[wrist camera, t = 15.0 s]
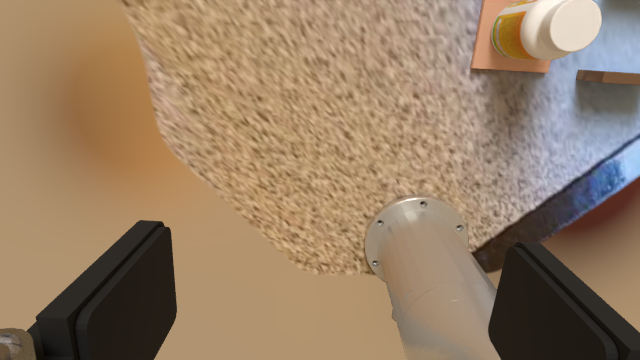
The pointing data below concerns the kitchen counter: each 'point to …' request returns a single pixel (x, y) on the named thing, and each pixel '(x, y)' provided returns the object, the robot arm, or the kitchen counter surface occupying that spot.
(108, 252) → the robot arm
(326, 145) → the kitchen counter surface
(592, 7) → the supplement bottle
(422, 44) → the kitchen counter surface
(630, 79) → the slot rack
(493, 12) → the terracotta tile
